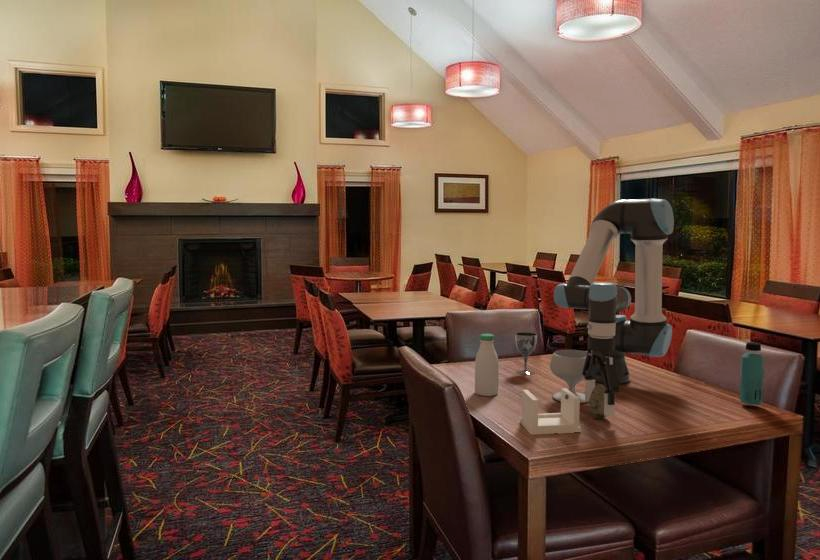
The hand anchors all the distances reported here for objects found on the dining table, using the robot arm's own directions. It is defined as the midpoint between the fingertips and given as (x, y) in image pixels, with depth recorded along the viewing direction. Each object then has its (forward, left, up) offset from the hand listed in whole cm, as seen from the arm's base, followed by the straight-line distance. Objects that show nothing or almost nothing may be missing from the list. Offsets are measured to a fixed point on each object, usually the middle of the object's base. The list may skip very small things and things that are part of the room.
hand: (598, 408), depth 174 cm
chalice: (+1, -19, -3) cm, 19 cm away
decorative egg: (0, 0, -3) cm, 3 cm away
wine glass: (+6, -53, -3) cm, 54 cm away
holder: (+17, +6, -3) cm, 18 cm away
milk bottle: (+27, -28, -3) cm, 39 cm away
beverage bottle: (-51, -5, -3) cm, 52 cm away
